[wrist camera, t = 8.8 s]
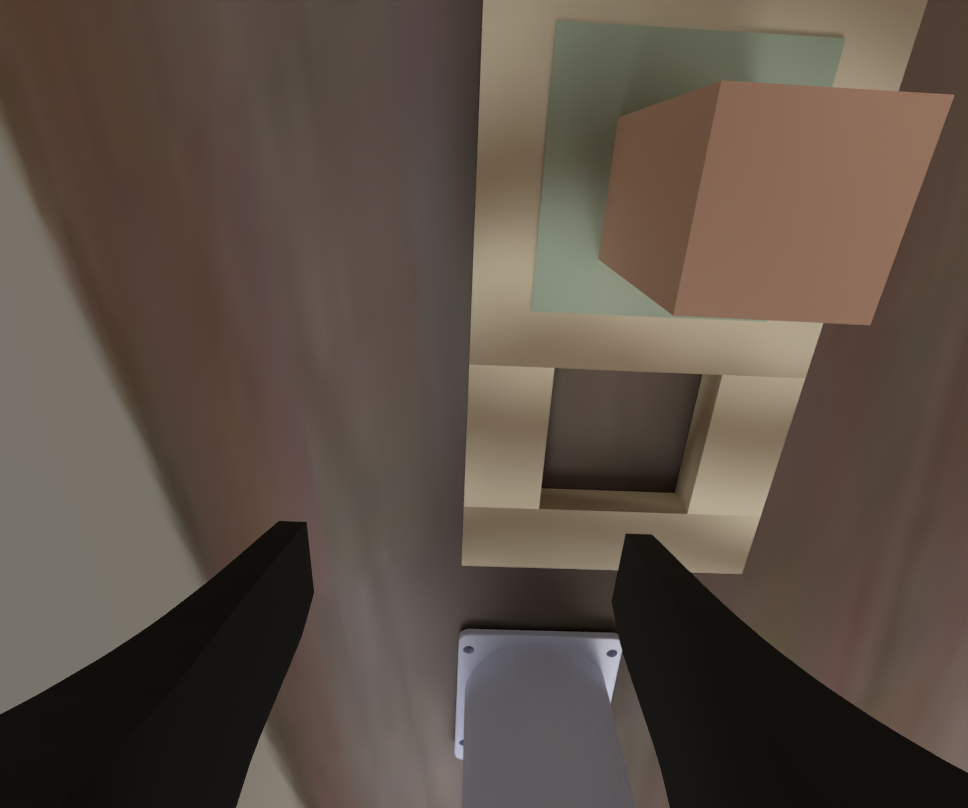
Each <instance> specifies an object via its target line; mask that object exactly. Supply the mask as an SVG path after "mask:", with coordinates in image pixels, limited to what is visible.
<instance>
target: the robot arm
mask: <svg viewBox="0 0 968 808" xmlns="http://www.w3.org/2000/svg"><path fill="white" fill-rule="evenodd" d="M313 594H314V588H313V579H312V569H311V560H310V551H309V541H308V532H307V523H306V522H290V521H279V522H277V523H276V524H275V525H274V526H273V527H271V528H270V529H269V530H268V531H267V532H266V533H264V534H263V535H262V536H261V537H260V538H259V539H257V540H256V541H255V542H254V543H253V544H252V545H251V546H249V547H248V548H247V549H246V550H245V551H244V552H242V553H241V554H240V555H239V556H238V557H237V558H235V559H234V560H233V561H232V562H231V563H230V564H228V565H227V566H226V567H225V568H224V569H222V570H221V571H220V572H219V573H218V574H216V575H215V576H214V577H213V578H212V579H210V580H209V581H208V582H207V583H206V584H204V585H203V586H202V587H201V588H199V589H198V590H197V591H195V592H194V593H193V594H192V595H190V596H189V597H188V598H186V599H185V600H184V601H182V602H181V603H180V604H179V605H177V606H176V607H175V608H173V609H172V610H171V611H170V612H168V613H167V614H166V615H164V616H163V617H161V618H160V619H159V620H157V621H156V622H154V623H153V624H152V625H150V626H149V627H147V628H146V629H144V630H143V631H141V632H140V633H139V634H137V635H135V636H134V637H132V638H131V639H129V640H128V641H126V642H125V643H123V644H122V645H120V646H119V647H117V648H116V649H114V650H113V651H111V652H109V653H108V654H106V655H105V656H103V657H102V658H100V659H98V660H96V661H95V662H93V663H91V664H90V665H88V666H86V667H85V668H83V669H81V670H80V671H78V672H76V673H74V674H73V675H71V676H69V677H68V678H66V679H64V680H62V681H61V682H59V683H57V684H56V685H54V686H52V687H50V688H49V689H47V690H45V691H44V692H42V693H40V694H38V695H36V696H35V697H32V698H31V699H29V700H27V701H25V702H23V703H21V704H19V705H18V706H16V707H14V708H12V709H10V710H8V711H6V712H4V713H2V714H0V808H236V806H237V802H238V799H239V796H240V793H241V790H242V787H243V784H244V780H245V777H246V774H247V771H248V768H249V765H250V761H251V759H252V756H253V754H254V751H255V748H256V746H257V743H258V740H259V738H260V735H261V733H262V731H263V728H264V726H265V723H266V721H267V719H268V716H269V714H270V711H271V709H272V707H273V704H274V702H275V700H276V697H277V695H278V692H279V690H280V688H281V685H282V683H283V680H284V678H285V676H286V673H287V671H288V668H289V666H290V664H291V661H292V659H293V656H294V654H295V651H296V649H297V647H298V644H299V642H300V639H301V637H302V633H303V630H304V627H305V623H306V620H307V616H308V613H309V609H310V605H311V601H312V598H313ZM612 606H613V611H614V616H615V621H616V626H617V631H618V634H617V633H608V632H569V631H531V630H492V629H465V630H463V631H462V632H461V633H460V634H459V646H458V672H457V699H456V725H455V751H454V754H455V756H456V757H457V758H459V759H463V780H462V808H636V805H635V801H634V797H633V793H632V789H631V785H630V781H629V777H628V773H627V769H626V765H625V761H624V757H623V753H622V749H621V745H620V741H619V737H618V733H617V729H616V725H615V721H614V716H613V712H612V708H611V700H612V695H613V690H614V686H615V681H616V677H617V672H618V668H619V663H620V659H621V654H622V651H623V655H624V658H625V661H626V664H627V667H628V670H629V673H630V676H631V679H632V682H633V685H634V688H635V691H636V694H637V697H638V700H639V703H640V706H641V709H642V712H643V715H644V718H645V721H646V724H647V727H648V730H649V733H650V736H651V739H652V742H653V745H654V748H655V751H656V755H657V758H658V761H659V765H660V768H661V772H662V776H663V780H664V784H665V788H666V793H667V797H668V801H669V805H670V808H968V773H967V772H965V771H963V770H961V769H959V768H957V767H956V766H954V765H952V764H950V763H948V762H946V761H945V760H943V759H941V758H939V757H938V756H936V755H934V754H933V753H931V752H929V751H927V750H926V749H924V748H922V747H921V746H919V745H917V744H915V743H914V742H912V741H910V740H909V739H907V738H905V737H904V736H902V735H900V734H898V733H897V732H895V731H894V730H892V729H890V728H889V727H887V726H886V725H884V724H882V723H881V722H879V721H877V720H876V719H874V718H873V717H871V716H870V715H868V714H866V713H865V712H863V711H862V710H860V709H859V708H857V707H856V706H854V705H853V704H851V703H850V702H848V701H847V700H845V699H844V698H842V697H841V696H839V695H838V694H836V693H835V692H833V691H832V690H830V689H829V688H828V687H826V686H825V685H823V684H822V683H821V682H819V681H818V680H816V679H815V678H813V677H812V676H811V675H809V674H808V673H807V672H805V671H804V670H803V669H801V668H800V667H799V666H797V665H796V664H795V663H793V662H792V661H791V660H790V659H788V658H787V657H786V656H784V655H783V654H782V653H780V652H779V651H778V650H776V649H775V648H774V647H773V646H771V645H770V644H769V643H768V642H767V641H765V640H764V639H763V638H762V637H760V636H759V635H758V634H757V633H756V632H755V631H753V630H752V629H751V628H750V627H749V626H748V625H747V624H745V623H744V622H743V621H742V620H741V619H740V618H738V617H737V616H736V615H735V614H734V613H733V612H732V611H731V610H729V609H728V608H727V607H726V606H725V605H724V604H723V603H722V602H721V601H720V600H719V599H717V598H716V597H715V596H714V595H713V594H712V593H711V592H710V591H709V590H708V589H707V588H706V587H705V586H704V585H703V584H702V583H701V582H700V581H699V580H698V579H697V578H696V577H695V576H694V575H693V574H692V573H691V572H690V571H689V570H688V569H687V568H686V567H685V566H684V565H683V564H682V563H681V562H680V561H679V560H678V559H677V558H676V557H675V556H674V555H673V554H672V553H671V552H670V551H669V550H668V549H667V548H666V547H665V546H664V545H663V544H662V543H661V542H660V541H659V540H657V539H656V538H655V537H654V536H653V535H652V534H628V533H626V534H625V539H624V544H623V548H622V553H621V558H620V563H619V568H618V573H617V578H616V583H615V588H614V593H613V598H612ZM466 646H471V647H466Z"/></svg>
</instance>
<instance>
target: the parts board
mask: <svg viewBox="0 0 968 808" xmlns="http://www.w3.org/2000/svg"><path fill="white" fill-rule="evenodd" d="M927 2H928V0H483V19H482V45H481V72H480V98H479V124H478V150H477V176H476V202H475V228H474V254H473V280H472V306H471V332H470V359H469V385H468V411H467V437H466V463H465V489H464V515H463V541H462V566H490V567H524V568H557V569H591V570H618V568H619V563H620V558H621V553H622V548H623V544H624V539H625V534H626V533H628V534H652V535H653V536H654V537H655V538H656V539H657V540H659V541H660V542H661V543H662V544H663V545H664V546H665V547H666V548H667V549H668V550H669V551H670V552H671V553H672V554H673V555H674V556H675V557H676V558H677V559H678V560H679V561H680V562H681V563H682V564H683V565H684V566H685V567H686V568H687V569H688V570H689V571H690V572H692V573H726V574H742V572H743V569H744V566H745V563H746V560H747V557H748V554H749V551H750V547H751V544H752V541H753V538H754V535H755V532H756V529H757V526H758V523H759V520H760V517H761V514H762V510H763V507H764V504H765V501H766V498H767V495H768V492H769V489H770V486H771V483H772V480H773V477H774V473H775V470H776V467H777V464H778V461H779V458H780V455H781V452H782V449H783V446H784V443H785V440H786V436H787V433H788V430H789V427H790V424H791V421H792V418H793V415H794V412H795V409H796V406H797V403H798V400H799V396H800V393H801V390H802V387H803V384H804V381H805V378H806V375H807V372H808V369H809V366H810V363H811V359H812V356H813V353H814V350H815V347H816V344H817V341H818V338H819V335H820V332H821V329H822V326H823V323H813V322H793V321H772V320H751V319H730V318H709V317H688V316H673V315H672V314H670V313H669V312H668V311H666V310H665V309H664V308H662V307H661V306H660V305H658V304H657V303H656V302H654V301H653V300H652V299H650V298H649V297H648V296H646V295H645V294H644V293H642V292H641V291H640V290H638V289H637V288H636V287H634V286H633V285H632V284H630V283H629V282H628V281H626V280H625V279H624V278H622V277H621V276H620V275H618V274H617V273H616V272H614V271H613V270H612V269H610V268H609V267H608V266H606V265H605V264H604V263H602V262H601V261H600V260H598V259H599V252H600V245H601V237H602V230H603V223H604V216H605V208H606V201H607V194H608V187H609V179H610V172H611V165H612V158H613V150H614V143H615V136H616V129H617V122H618V118H619V117H622V116H624V115H627V114H630V113H633V112H635V111H638V110H641V109H644V108H646V107H649V106H652V105H655V104H657V103H660V102H663V101H666V100H668V99H671V98H674V97H677V96H679V95H682V94H685V93H688V92H690V91H693V90H696V89H699V88H701V87H704V86H707V85H710V84H712V83H715V82H718V81H721V80H725V81H741V82H757V83H773V84H790V85H805V86H822V87H837V88H853V89H870V90H886V91H899V88H900V85H901V82H902V79H903V76H904V73H905V70H906V67H907V63H908V60H909V57H910V54H911V51H912V48H913V45H914V42H915V39H916V36H917V33H918V30H919V26H920V23H921V20H922V17H923V14H924V11H925V8H926V5H927ZM554 368H567V369H591V370H615V371H640V372H664V373H688V374H702V378H701V383H700V387H699V391H698V395H697V400H696V404H695V408H694V412H693V417H692V421H691V425H690V429H689V434H688V438H687V442H686V446H685V450H684V455H683V459H682V463H681V467H680V472H679V476H678V480H677V484H676V489H675V493H665V492H635V491H606V490H577V489H548V488H541V486H542V477H543V468H544V459H545V450H546V441H547V432H548V423H549V414H550V405H551V395H552V386H553V377H554Z"/></svg>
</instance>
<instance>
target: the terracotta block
mask: <svg viewBox="0 0 968 808" xmlns="http://www.w3.org/2000/svg"><path fill="white" fill-rule="evenodd" d="M953 98H954V95H950V94H934V93H918V92H902V91H886V90H870V89H853V88H837V87H822V86H805V85H790V84H773V83H757V82H741V81H725V80H721V81H718V82H715V83H712V84H710V85H707V86H704V87H701V88H699V89H696V90H693V91H690V92H688V93H685V94H682V95H679V96H677V97H674V98H671V99H668V100H666V101H663V102H660V103H657V104H655V105H652V106H649V107H646V108H644V109H641V110H638V111H635V112H633V113H630V114H627V115H624V116H622V117H619V118H618V122H617V129H616V136H615V143H614V150H613V158H612V165H611V172H610V179H609V187H608V194H607V201H606V208H605V216H604V223H603V230H602V237H601V245H600V252H599V259H598V260H600V261H601V262H602V263H604V264H605V265H606V266H608V267H609V268H610V269H612V270H613V271H614V272H616V273H617V274H618V275H620V276H621V277H622V278H624V279H625V280H626V281H628V282H629V283H630V284H632V285H633V286H634V287H636V288H637V289H638V290H640V291H641V292H642V293H644V294H645V295H646V296H648V297H649V298H650V299H652V300H653V301H654V302H656V303H657V304H658V305H660V306H661V307H662V308H664V309H665V310H666V311H668V312H669V313H670V314H672V315H673V316H688V317H709V318H730V319H751V320H772V321H793V322H813V323H834V324H855V325H870V324H871V322H872V319H873V316H874V314H875V311H876V308H877V305H878V303H879V300H880V297H881V294H882V292H883V289H884V286H885V284H886V281H887V278H888V275H889V273H890V270H891V267H892V264H893V262H894V259H895V256H896V254H897V251H898V248H899V245H900V243H901V240H902V237H903V234H904V232H905V229H906V226H907V224H908V221H909V218H910V215H911V213H912V210H913V207H914V204H915V202H916V199H917V196H918V194H919V191H920V188H921V185H922V183H923V180H924V177H925V174H926V172H927V169H928V166H929V164H930V161H931V158H932V155H933V153H934V150H935V147H936V144H937V142H938V139H939V136H940V134H941V131H942V128H943V125H944V123H945V120H946V117H947V114H948V112H949V109H950V106H951V103H952V101H953Z"/></svg>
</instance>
